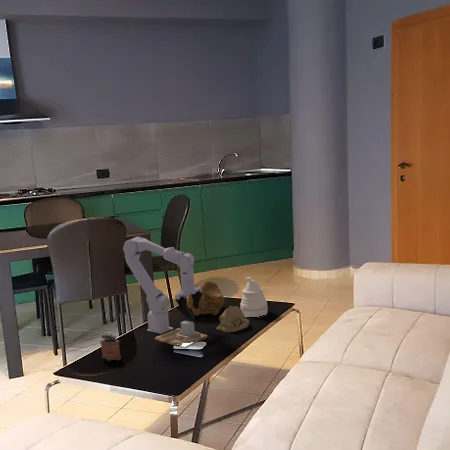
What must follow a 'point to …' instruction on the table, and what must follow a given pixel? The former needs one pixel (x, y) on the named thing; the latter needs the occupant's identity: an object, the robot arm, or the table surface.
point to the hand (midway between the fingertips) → (190, 311)
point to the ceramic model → (232, 320)
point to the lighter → (110, 347)
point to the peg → (187, 328)
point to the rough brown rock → (208, 299)
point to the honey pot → (253, 300)
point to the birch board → (180, 337)
